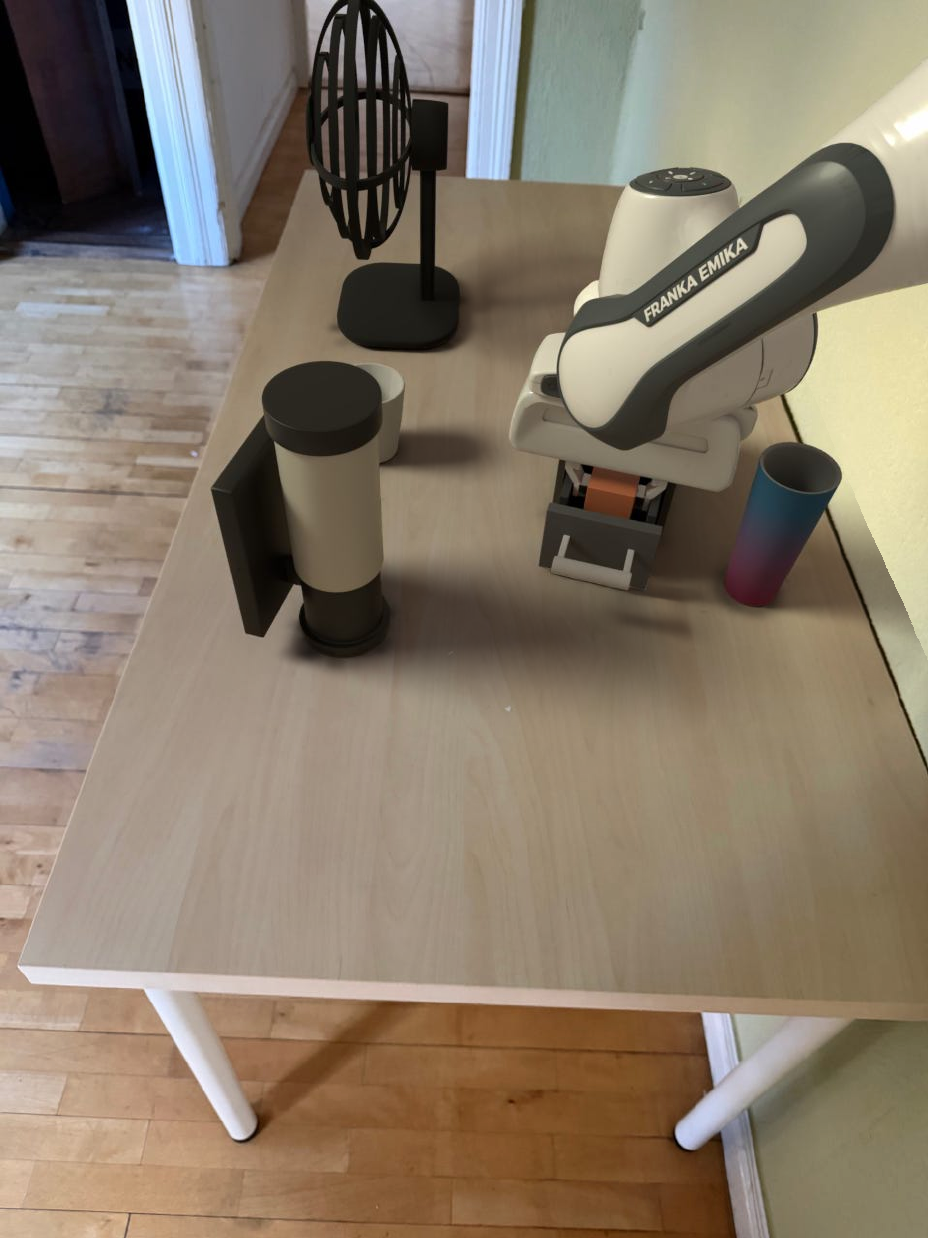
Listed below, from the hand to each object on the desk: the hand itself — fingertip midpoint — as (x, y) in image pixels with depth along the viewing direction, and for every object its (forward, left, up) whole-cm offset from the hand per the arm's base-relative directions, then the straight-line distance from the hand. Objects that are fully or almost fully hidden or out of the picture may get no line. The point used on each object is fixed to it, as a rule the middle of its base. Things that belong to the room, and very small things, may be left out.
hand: (610, 499), depth 83 cm
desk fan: (+34, -36, -6) cm, 50 cm away
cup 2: (-15, +1, -6) cm, 16 cm away
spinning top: (+6, -32, -6) cm, 33 cm away
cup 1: (+28, -7, -6) cm, 30 cm away
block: (0, 0, -2) cm, 2 cm away
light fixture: (+22, +17, -6) cm, 29 cm away
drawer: (0, +1, -5) cm, 6 cm away
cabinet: (0, -11, -6) cm, 13 cm away
